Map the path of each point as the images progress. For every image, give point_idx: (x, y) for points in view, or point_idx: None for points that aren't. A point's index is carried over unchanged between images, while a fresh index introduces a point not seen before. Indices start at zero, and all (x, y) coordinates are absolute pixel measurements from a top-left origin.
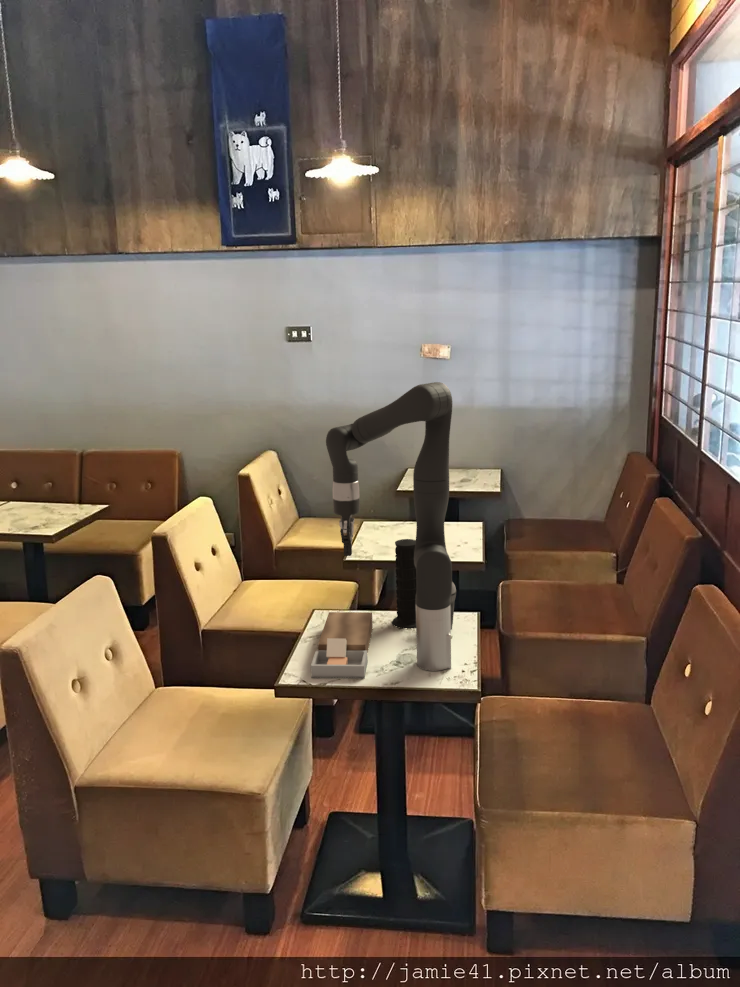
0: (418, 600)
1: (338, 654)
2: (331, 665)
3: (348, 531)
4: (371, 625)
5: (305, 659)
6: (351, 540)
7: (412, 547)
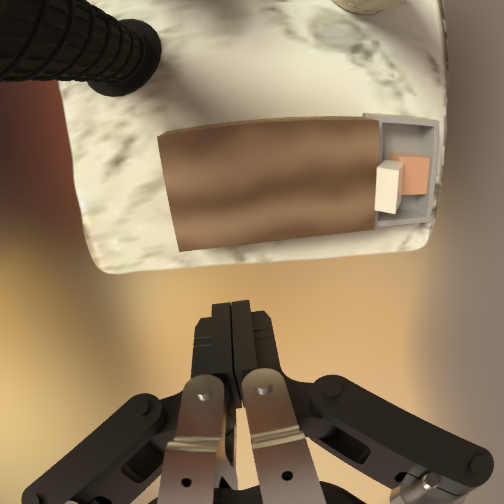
0: None
1: (402, 177)
2: (433, 184)
3: (488, 462)
4: (194, 128)
5: (348, 240)
6: (261, 391)
7: None
